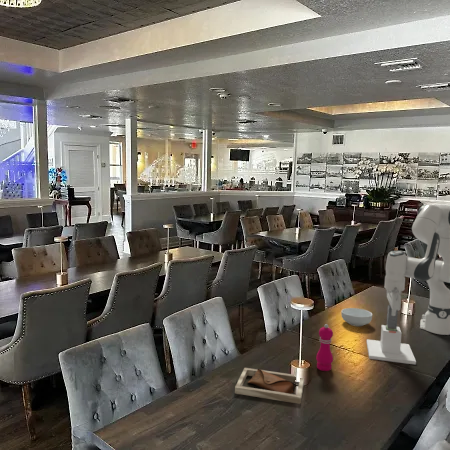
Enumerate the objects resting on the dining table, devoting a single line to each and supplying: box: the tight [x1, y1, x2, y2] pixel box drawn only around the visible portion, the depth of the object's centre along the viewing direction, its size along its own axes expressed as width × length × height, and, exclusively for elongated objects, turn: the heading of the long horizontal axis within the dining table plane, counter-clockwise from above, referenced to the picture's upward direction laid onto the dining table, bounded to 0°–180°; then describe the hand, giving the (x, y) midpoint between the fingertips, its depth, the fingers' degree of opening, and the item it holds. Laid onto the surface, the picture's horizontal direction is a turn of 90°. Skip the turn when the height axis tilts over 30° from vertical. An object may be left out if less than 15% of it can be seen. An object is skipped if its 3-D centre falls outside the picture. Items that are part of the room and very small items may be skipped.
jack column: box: [386, 304, 399, 331], centre depth 197 cm, size 4×4×16 cm
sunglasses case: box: [247, 368, 296, 394], centre depth 164 cm, size 18×7×7 cm, turn 51°
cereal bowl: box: [340, 307, 373, 327], centre depth 237 cm, size 17×17×7 cm
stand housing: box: [365, 324, 417, 365], centre depth 198 cm, size 20×20×12 cm
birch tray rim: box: [234, 367, 305, 405], centre depth 164 cm, size 17×25×2 cm
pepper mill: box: [315, 323, 334, 372], centre depth 181 cm, size 7×7×20 cm
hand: (392, 313), depth 197 cm, fingers closed on jack column, 4 cm apart
